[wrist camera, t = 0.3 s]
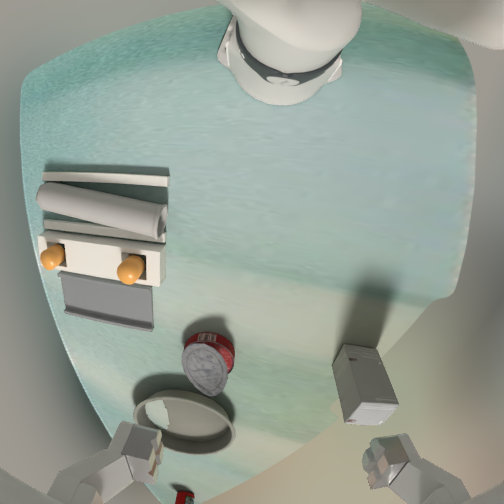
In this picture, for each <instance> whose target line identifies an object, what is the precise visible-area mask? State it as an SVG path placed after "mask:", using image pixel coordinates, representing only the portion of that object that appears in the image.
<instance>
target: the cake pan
mask: <svg viewBox="0 0 504 504" xmlns="http://www.w3.org/2000/svg"><path fill="white" fill-rule="evenodd" d="M155 400H163V402H164V404H165V408H166V409H167V412H168V417H169V423H170V424H169V425H168V427H169V428H168V429H167V430H164V429H163V430H164V431H163V430H161V429H160V428H158V427H157V426H156V425H154V424H153V422H152V421H151V420H150V419H149V417H148V415H147V414H146V410H145V405H146V403H148V402H151V401H155ZM133 417H134V421H135V424H137V425H141V426H145V427H149V428H153V429H157V430H161V433H162V437H161V441H162V442H163V447H164V448H166V449H169V450H171V451H175V452H178V453H183V454H189V455H208V454H214V453H218V452H220V451H223V450H225V449H226V448H228V447H229V446H230V445H231V444H232V443H233V441H234V439H235V435H236V434H235V429H234V427H233V425H232V423H231V422H230V421H229V417H228V415H227V413H226V411H225V410H224V409H223V408H222V407H221V406H220V405H219V404H218V403H216V402H215V401H213V400H211V399H210V398H208V397H205V396H203V395H200V394H197V393H194V392H190V391H185V390H163V391H159V392H156V393H154V394H152V395H151V396H149V397H148V398H147V399H146V400H144V401H142V402H140V403H139V404H138V405H137V406H136V408H135V410H134V413H133Z"/></svg>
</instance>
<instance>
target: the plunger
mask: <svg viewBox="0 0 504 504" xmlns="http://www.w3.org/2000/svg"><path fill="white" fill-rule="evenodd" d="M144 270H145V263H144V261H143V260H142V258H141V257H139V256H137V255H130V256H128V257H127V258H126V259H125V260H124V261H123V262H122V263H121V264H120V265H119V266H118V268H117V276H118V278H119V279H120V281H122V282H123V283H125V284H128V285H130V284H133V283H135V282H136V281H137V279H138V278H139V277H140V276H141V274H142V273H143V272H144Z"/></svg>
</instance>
